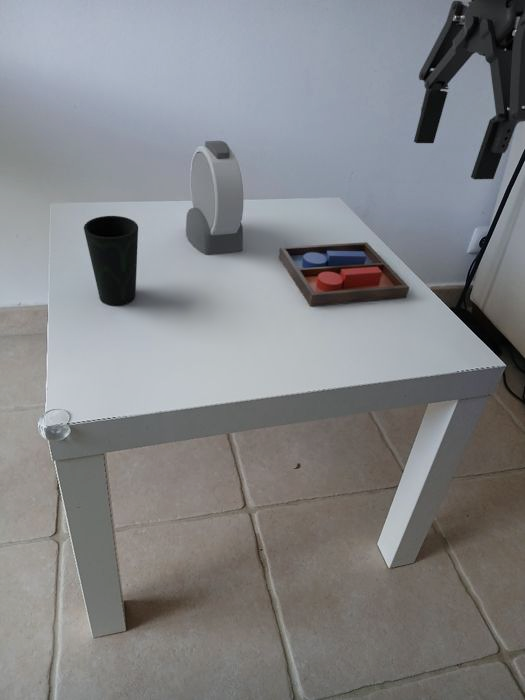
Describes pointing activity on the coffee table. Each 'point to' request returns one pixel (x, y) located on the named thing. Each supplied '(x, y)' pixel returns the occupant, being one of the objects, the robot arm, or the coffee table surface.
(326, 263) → the blue disc-ended stick
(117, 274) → the cup
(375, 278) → the red spoon
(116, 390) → the coffee table surface
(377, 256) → the divided sorting tray
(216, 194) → the alarm clock
